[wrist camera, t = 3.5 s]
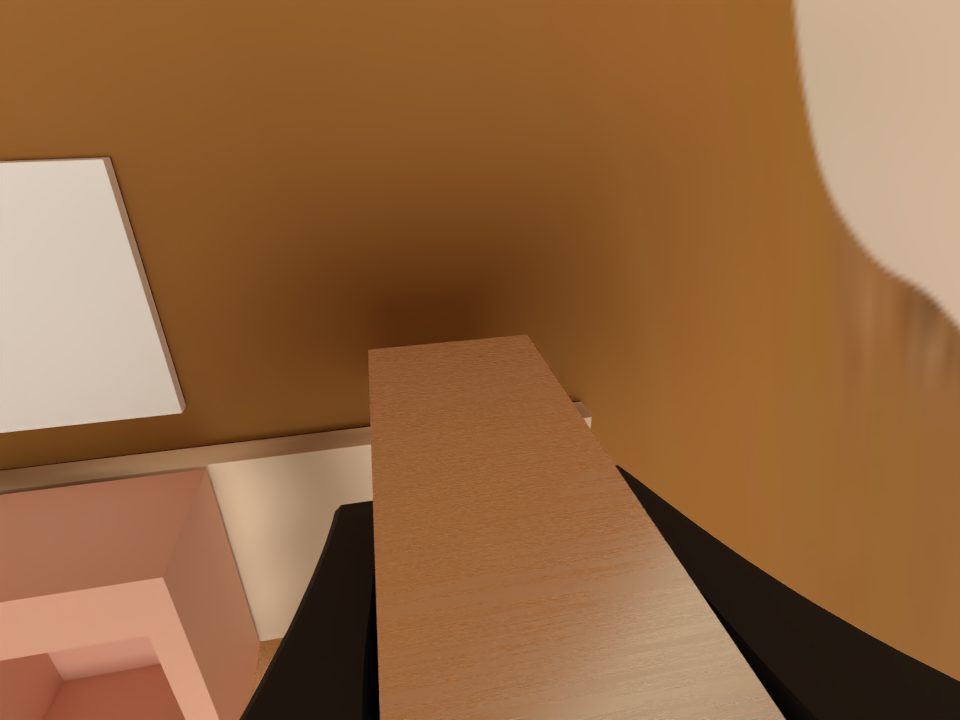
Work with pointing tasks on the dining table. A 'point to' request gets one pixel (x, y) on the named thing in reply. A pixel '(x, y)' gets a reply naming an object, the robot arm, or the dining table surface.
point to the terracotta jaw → (122, 604)
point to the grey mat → (75, 302)
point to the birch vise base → (253, 503)
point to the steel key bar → (526, 557)
